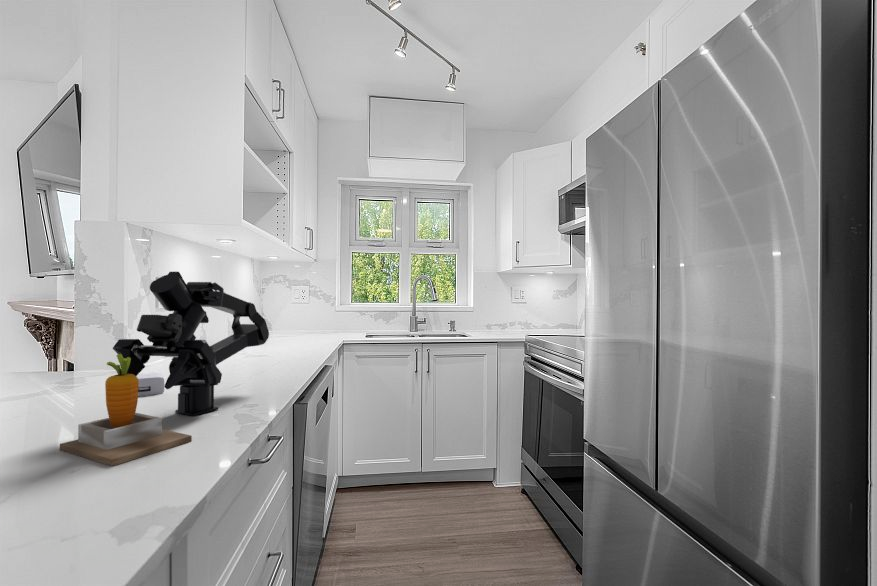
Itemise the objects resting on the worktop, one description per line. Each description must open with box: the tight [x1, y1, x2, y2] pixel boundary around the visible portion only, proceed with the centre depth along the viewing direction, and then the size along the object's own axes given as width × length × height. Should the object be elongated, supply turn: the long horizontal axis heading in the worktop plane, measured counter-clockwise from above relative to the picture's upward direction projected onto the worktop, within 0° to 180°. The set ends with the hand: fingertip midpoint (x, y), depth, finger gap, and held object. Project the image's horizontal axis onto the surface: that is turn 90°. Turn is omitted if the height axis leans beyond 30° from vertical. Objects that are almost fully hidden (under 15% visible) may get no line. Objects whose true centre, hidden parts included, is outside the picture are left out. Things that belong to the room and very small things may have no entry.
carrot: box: [105, 354, 139, 429], centre depth 78 cm, size 5×5×15 cm
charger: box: [136, 372, 165, 397], centre depth 121 cm, size 5×9×15 cm
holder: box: [59, 412, 193, 467], centre depth 77 cm, size 13×16×4 cm
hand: (143, 387), depth 83 cm, fingers open, 9 cm apart
